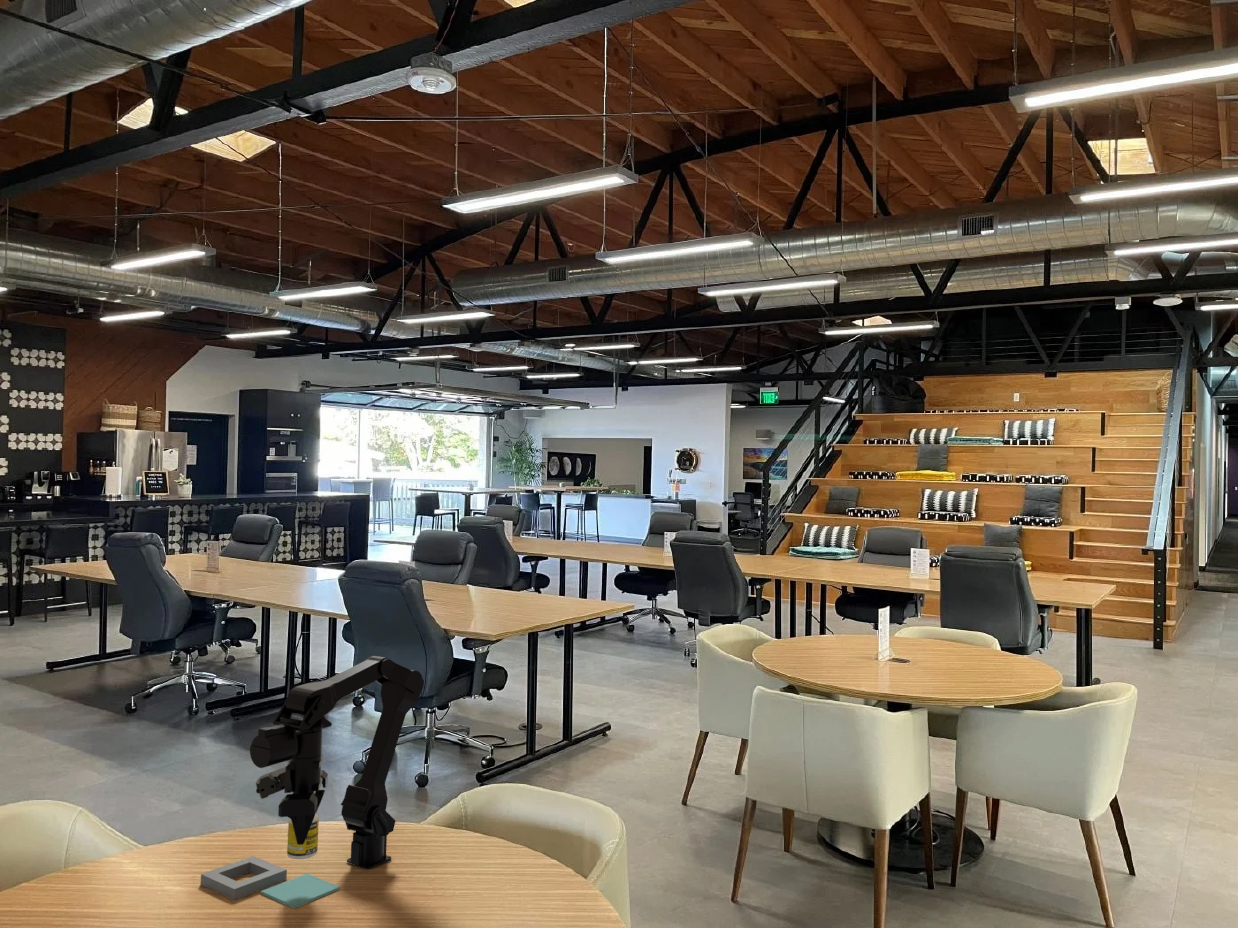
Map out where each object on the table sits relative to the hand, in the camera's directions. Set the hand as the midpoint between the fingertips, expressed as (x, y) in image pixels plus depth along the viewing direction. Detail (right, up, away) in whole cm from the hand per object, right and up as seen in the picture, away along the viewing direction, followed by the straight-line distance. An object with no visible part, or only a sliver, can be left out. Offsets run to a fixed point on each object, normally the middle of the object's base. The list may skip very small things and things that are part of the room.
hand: (303, 838), depth 168 cm
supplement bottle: (0, -3, 0) cm, 3 cm away
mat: (0, -10, -1) cm, 10 cm away
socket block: (-12, -10, +3) cm, 16 cm away
